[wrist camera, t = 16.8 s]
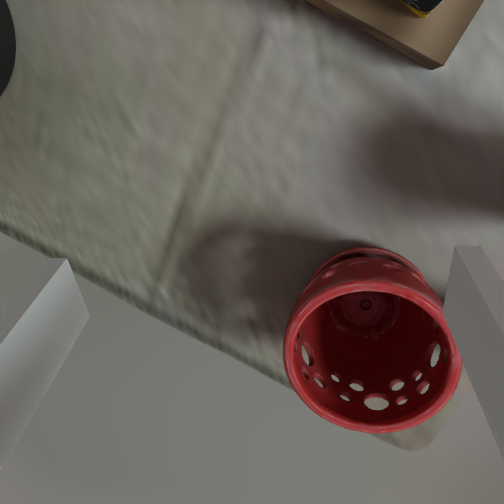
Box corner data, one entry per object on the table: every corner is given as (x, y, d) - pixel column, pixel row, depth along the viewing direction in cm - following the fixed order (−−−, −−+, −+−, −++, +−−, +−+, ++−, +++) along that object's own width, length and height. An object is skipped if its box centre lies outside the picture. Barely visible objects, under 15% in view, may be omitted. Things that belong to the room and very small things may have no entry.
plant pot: (390, 209, 40) (413, 248, 29) (453, 324, 43) (497, 401, 31) (270, 273, 44) (249, 328, 33) (334, 374, 47) (335, 459, 35)
